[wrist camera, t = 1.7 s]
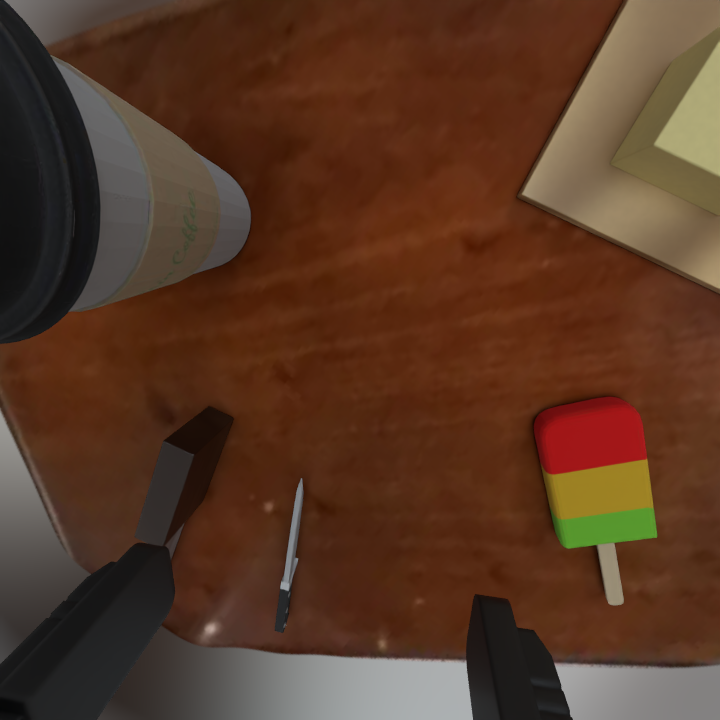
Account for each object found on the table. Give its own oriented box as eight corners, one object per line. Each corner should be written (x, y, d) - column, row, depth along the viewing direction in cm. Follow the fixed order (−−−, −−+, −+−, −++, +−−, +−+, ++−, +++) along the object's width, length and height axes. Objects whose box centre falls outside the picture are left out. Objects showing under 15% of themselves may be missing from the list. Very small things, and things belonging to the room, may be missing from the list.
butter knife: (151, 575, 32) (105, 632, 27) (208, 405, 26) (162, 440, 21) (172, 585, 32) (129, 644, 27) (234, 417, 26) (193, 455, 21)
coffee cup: (265, 310, 23) (32, 407, 9) (128, 272, 24) (-290, 306, 10) (292, 147, 20) (9, -84, 6) (135, 108, 21) (-450, -186, 7)
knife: (303, 463, 26) (294, 480, 24) (313, 465, 26) (305, 482, 24) (282, 611, 31) (273, 635, 29) (290, 614, 31) (282, 638, 29)
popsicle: (625, 388, 22) (643, 401, 20) (652, 587, 25) (670, 613, 23) (527, 409, 23) (536, 422, 21) (567, 596, 26) (577, 621, 25)
